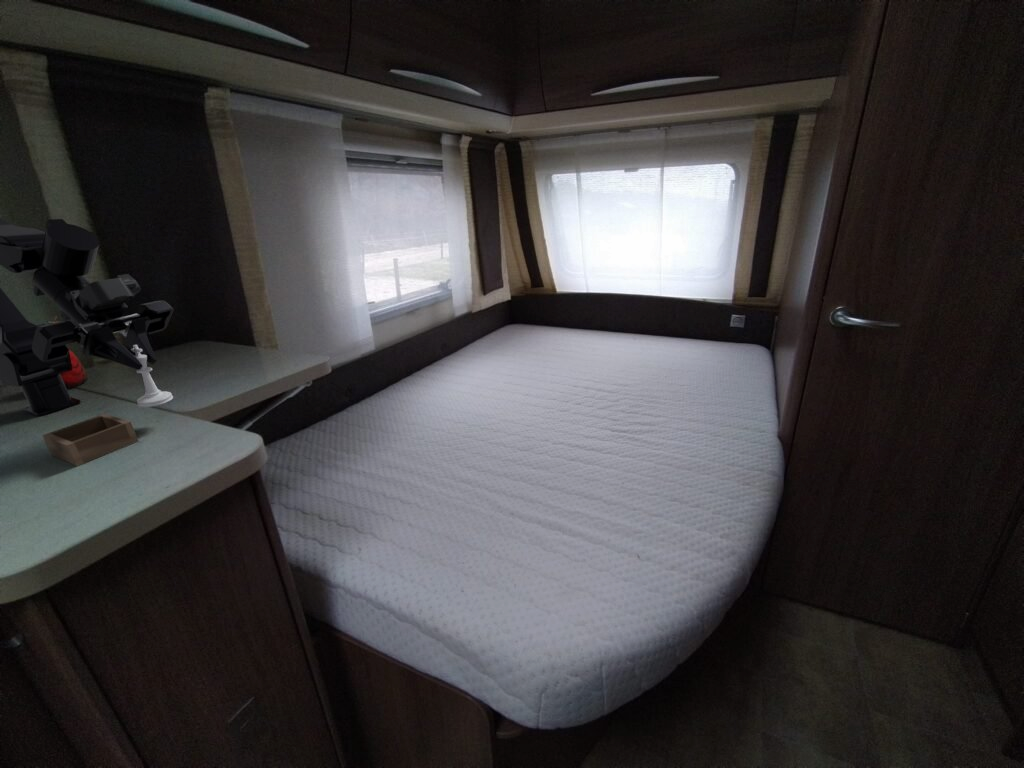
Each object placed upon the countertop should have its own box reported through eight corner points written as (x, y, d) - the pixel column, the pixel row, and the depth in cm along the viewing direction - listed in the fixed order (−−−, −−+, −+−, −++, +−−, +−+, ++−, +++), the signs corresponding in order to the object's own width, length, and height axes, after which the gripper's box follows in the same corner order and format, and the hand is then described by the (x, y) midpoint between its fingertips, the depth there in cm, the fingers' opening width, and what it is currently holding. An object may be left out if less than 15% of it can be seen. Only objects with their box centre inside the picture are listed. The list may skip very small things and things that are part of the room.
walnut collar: (52, 455, 69) (42, 435, 68) (112, 432, 76) (104, 413, 74) (77, 466, 66) (67, 445, 64) (138, 441, 72) (130, 421, 71)
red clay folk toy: (46, 386, 98) (14, 319, 92) (88, 377, 103) (60, 312, 97) (47, 395, 93) (14, 325, 87) (92, 385, 98) (62, 317, 92)
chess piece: (154, 408, 74) (132, 350, 70) (130, 406, 75) (107, 349, 71) (180, 396, 78) (161, 341, 74) (157, 394, 79) (137, 340, 75)
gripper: (7, 269, 60) (94, 352, 61) (147, 253, 77) (214, 319, 78) (-2, 323, 66) (79, 399, 67) (131, 297, 82) (194, 358, 83)
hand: (148, 365), depth 73 cm, fingers closed on chess piece
